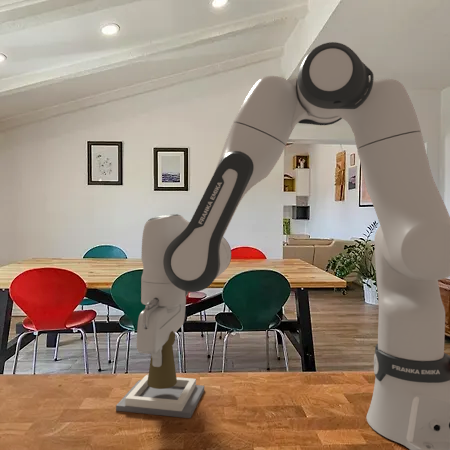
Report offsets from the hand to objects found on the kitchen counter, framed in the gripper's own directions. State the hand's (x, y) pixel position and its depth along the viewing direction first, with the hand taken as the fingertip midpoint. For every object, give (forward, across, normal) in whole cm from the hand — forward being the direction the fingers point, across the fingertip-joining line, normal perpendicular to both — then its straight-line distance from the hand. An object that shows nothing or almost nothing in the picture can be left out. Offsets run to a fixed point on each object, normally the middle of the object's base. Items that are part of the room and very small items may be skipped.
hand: (162, 360), depth 83 cm
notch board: (+8, 0, 0) cm, 8 cm away
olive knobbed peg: (+5, 0, 0) cm, 5 cm away
